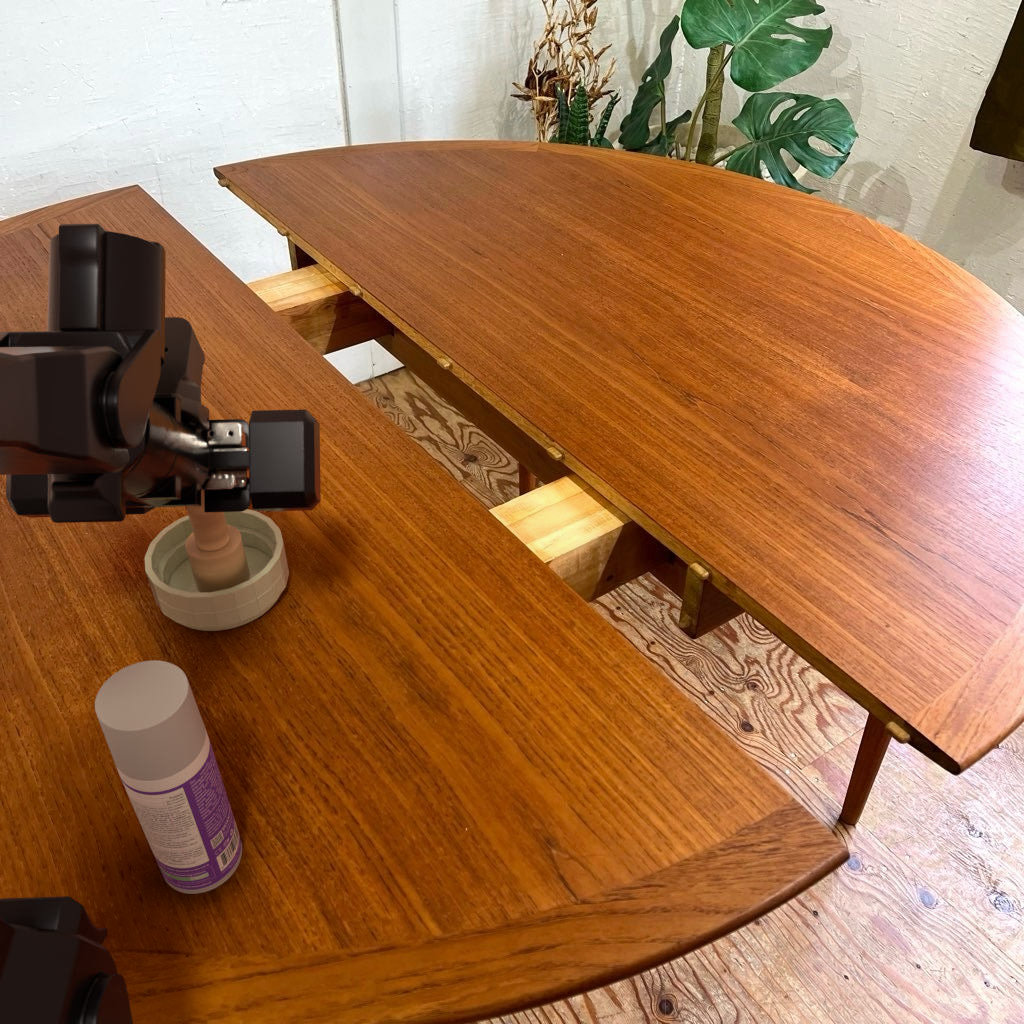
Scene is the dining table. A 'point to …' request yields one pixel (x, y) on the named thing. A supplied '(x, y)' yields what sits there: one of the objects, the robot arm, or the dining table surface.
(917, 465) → the dining table surface
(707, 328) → the dining table surface
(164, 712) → the container
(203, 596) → the bowl
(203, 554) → the pestle
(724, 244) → the dining table surface
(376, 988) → the dining table surface
